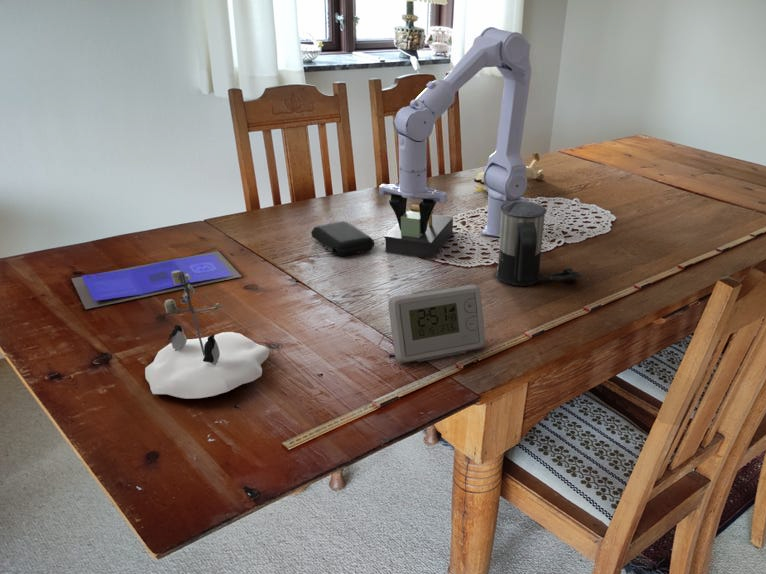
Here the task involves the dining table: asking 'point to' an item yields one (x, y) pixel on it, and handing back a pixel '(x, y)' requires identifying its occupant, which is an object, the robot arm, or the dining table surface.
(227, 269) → the booklet
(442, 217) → the cover
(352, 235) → the carrying case
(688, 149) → the dining table surface
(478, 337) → the digital clock
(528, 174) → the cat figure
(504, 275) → the milk frother
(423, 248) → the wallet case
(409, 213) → the block
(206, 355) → the figurine
